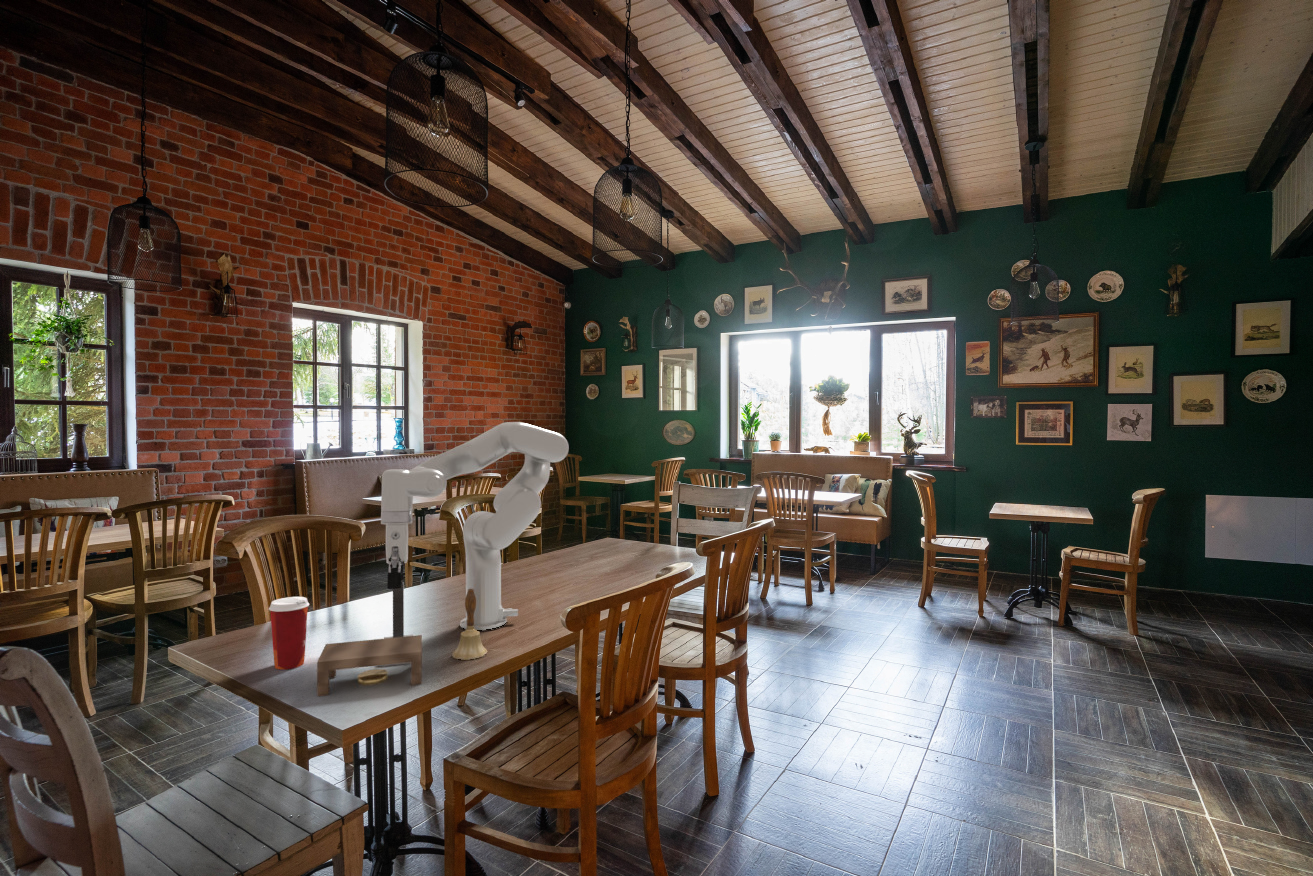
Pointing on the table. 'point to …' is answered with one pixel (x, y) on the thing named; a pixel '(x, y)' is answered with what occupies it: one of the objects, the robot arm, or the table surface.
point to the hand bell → (469, 634)
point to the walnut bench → (368, 657)
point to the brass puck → (372, 677)
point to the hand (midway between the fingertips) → (395, 584)
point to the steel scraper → (398, 616)
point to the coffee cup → (289, 631)
